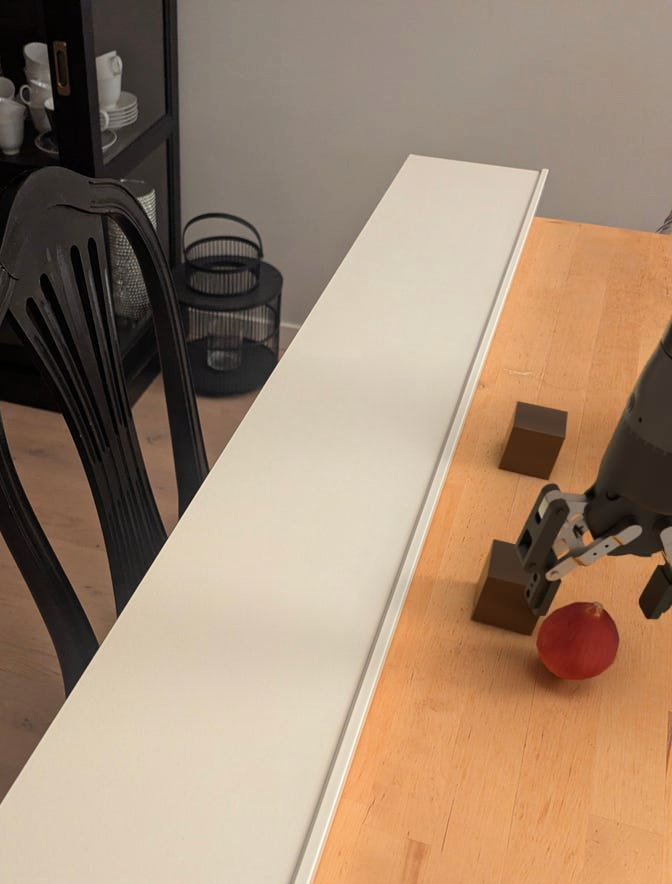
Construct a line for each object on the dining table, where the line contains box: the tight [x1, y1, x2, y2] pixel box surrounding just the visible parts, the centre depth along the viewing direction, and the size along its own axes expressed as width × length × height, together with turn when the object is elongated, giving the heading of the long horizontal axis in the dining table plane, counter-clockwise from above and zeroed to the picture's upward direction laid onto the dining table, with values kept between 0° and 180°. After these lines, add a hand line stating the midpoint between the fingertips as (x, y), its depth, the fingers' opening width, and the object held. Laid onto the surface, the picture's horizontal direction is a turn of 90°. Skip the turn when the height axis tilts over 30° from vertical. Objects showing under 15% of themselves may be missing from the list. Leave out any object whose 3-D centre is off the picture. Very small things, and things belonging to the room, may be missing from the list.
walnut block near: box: [470, 538, 541, 636], centre depth 76 cm, size 5×5×5 cm
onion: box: [535, 601, 620, 681], centre depth 70 cm, size 6×6×8 cm
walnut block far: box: [497, 400, 569, 480], centre depth 92 cm, size 5×5×5 cm
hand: (591, 610), depth 68 cm, fingers open, 8 cm apart
